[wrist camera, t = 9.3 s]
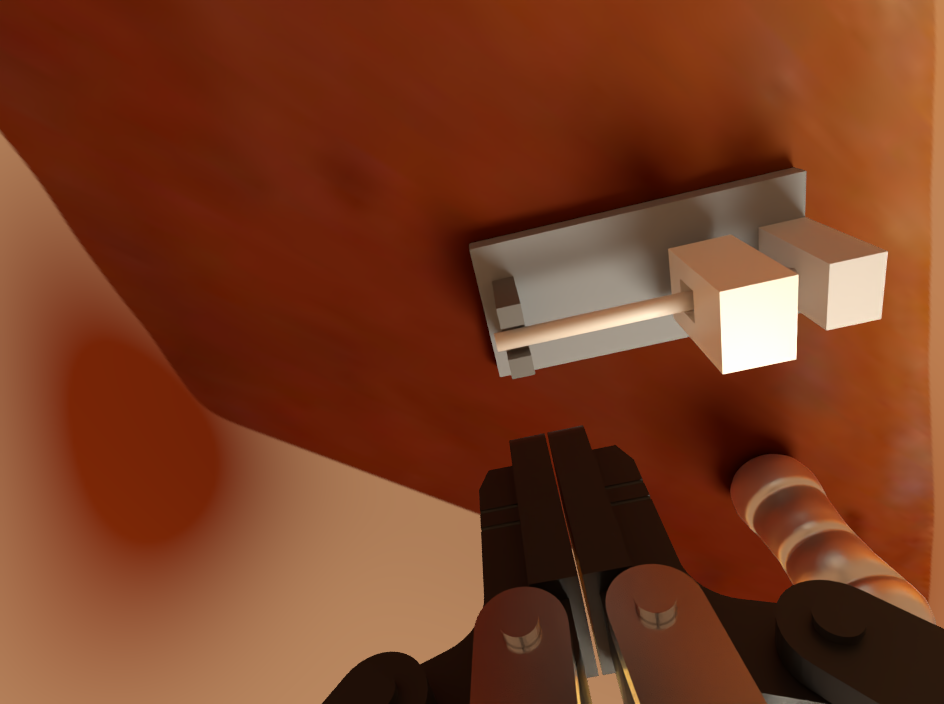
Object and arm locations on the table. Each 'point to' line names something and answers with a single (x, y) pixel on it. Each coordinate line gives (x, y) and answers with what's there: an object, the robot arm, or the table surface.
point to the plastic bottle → (813, 532)
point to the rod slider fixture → (659, 271)
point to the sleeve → (736, 303)
